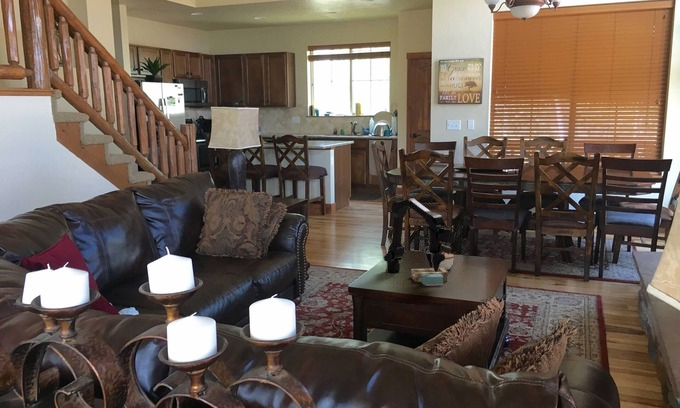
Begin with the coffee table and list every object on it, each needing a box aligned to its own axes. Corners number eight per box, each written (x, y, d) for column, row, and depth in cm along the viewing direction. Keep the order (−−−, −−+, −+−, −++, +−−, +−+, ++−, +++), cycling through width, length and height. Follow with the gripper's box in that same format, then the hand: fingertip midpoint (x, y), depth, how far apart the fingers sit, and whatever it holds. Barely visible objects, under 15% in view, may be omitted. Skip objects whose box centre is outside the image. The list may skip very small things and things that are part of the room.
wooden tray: (415, 281, 290) (415, 272, 289) (411, 277, 298) (411, 268, 298) (447, 281, 292) (447, 271, 291) (442, 276, 300) (443, 267, 299)
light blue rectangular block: (423, 284, 284) (423, 277, 283) (421, 282, 288) (421, 274, 288) (442, 284, 285) (443, 276, 285) (440, 281, 290) (440, 274, 289)
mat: (425, 285, 284) (425, 284, 284) (423, 282, 289) (423, 282, 289) (443, 285, 285) (443, 284, 285) (440, 282, 290) (440, 281, 290)
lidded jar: (453, 271, 310) (453, 254, 309) (433, 270, 312) (434, 253, 311) (453, 266, 320) (453, 250, 319) (434, 265, 323) (434, 249, 321)
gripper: (455, 243, 275) (454, 274, 277) (444, 235, 293) (443, 264, 296) (433, 243, 274) (432, 275, 276) (423, 235, 292) (422, 265, 295)
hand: (433, 269), depth 286 cm, fingers open, 9 cm apart
